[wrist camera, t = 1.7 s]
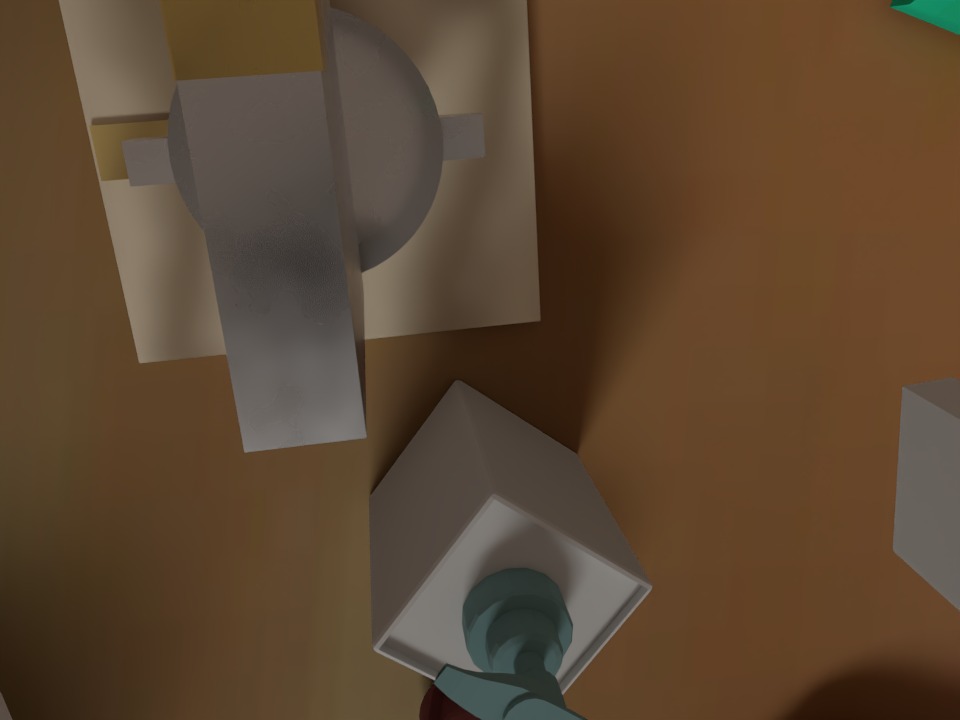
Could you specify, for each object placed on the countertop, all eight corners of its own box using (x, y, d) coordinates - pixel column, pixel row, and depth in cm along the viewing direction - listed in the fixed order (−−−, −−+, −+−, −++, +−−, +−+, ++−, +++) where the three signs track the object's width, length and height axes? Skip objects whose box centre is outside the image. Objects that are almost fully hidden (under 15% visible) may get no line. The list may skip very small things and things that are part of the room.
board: (145, 355, 41) (137, 365, 39) (47, -94, 34) (33, -101, 33) (535, 314, 43) (541, 322, 42) (516, -116, 36) (522, -124, 35)
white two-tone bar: (166, 297, 33) (6, 481, 18) (106, 1, 29) (-159, -78, 14) (486, 266, 34) (583, 411, 20) (467, -21, 31) (569, -112, 16)
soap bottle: (453, 374, 43) (519, 582, 26) (578, 454, 46) (717, 692, 28) (364, 496, 45) (367, 771, 27) (490, 566, 48) (568, 859, 30)
